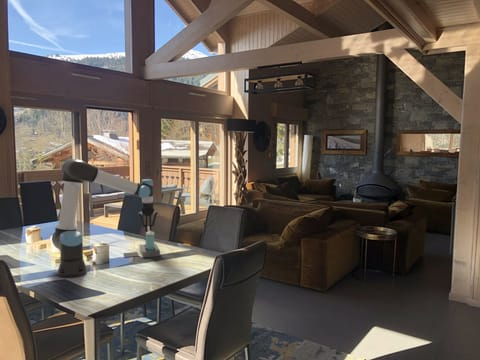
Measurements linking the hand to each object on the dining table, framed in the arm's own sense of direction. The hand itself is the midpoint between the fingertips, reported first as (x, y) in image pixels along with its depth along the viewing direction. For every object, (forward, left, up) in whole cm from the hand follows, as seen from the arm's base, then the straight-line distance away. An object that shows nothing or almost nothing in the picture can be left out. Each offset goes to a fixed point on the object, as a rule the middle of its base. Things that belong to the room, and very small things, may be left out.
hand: (148, 236), depth 257 cm
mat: (-12, -5, -10) cm, 17 cm away
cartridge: (0, -9, -10) cm, 14 cm away
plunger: (0, 0, -8) cm, 8 cm away
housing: (0, -5, -10) cm, 12 cm away
